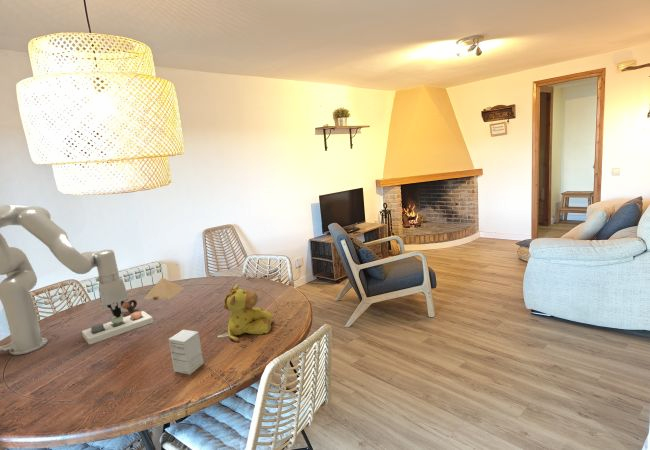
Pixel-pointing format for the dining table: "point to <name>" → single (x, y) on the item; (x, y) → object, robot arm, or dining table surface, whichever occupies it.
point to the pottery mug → (129, 307)
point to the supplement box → (186, 351)
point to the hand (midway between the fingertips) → (117, 316)
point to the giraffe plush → (245, 314)
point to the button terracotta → (136, 316)
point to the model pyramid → (164, 290)
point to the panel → (116, 328)
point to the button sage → (117, 320)
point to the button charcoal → (97, 328)
